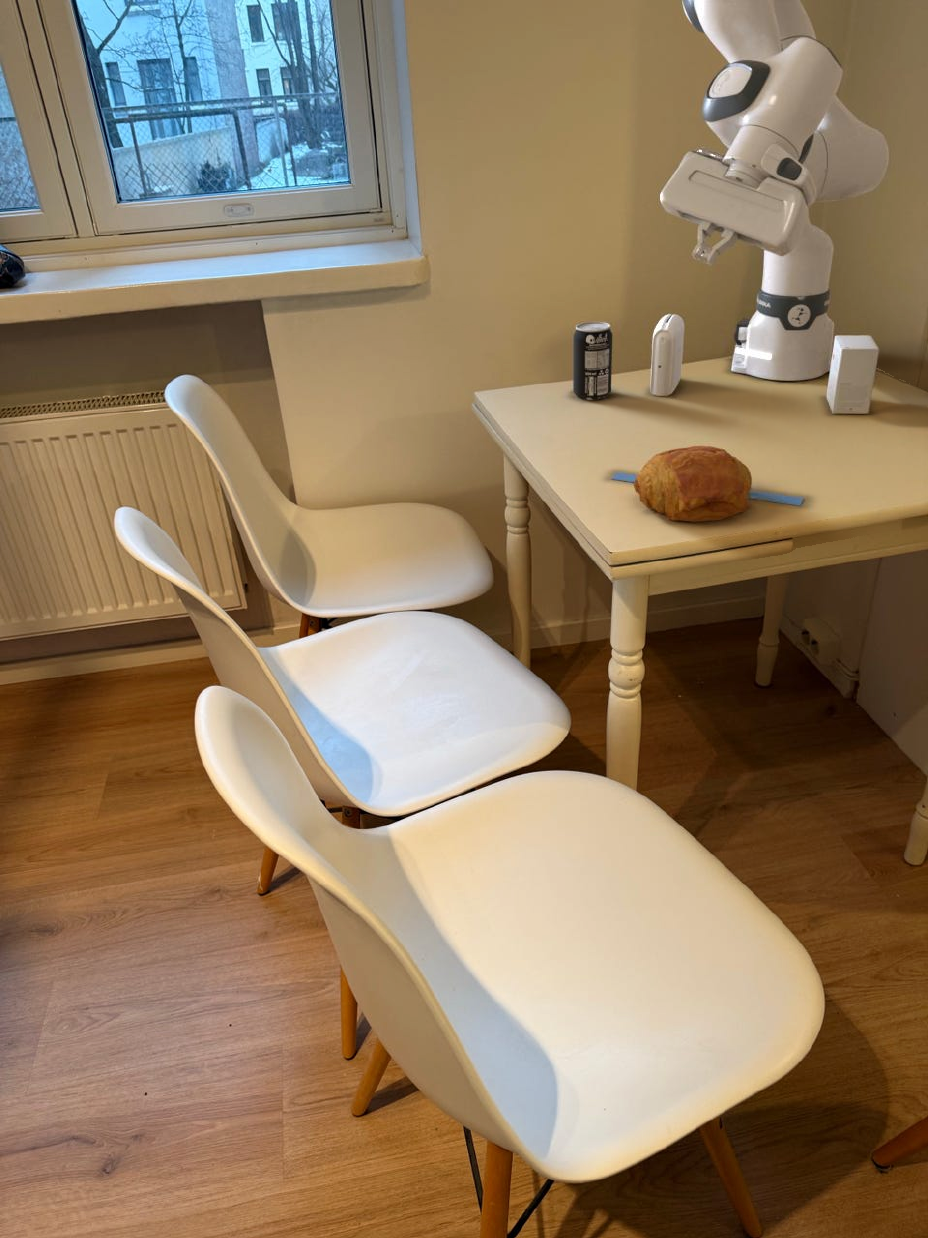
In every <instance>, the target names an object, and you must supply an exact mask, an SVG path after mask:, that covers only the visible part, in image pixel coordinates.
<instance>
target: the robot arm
mask: <svg viewBox="0 0 928 1238" xmlns="http://www.w3.org/2000/svg"><path fill="white" fill-rule="evenodd" d="M681 1H682V2H681V3H682V7H683V8H682V9H683V11H684V14H685V16H686V19H688V21H689V23H691V25H693V27H694V28H695V29H696V31H697V32H699V33H701V34H705V35H706V37H707V38H708V39H709V41H710V42H711V43H712V44H713V45H714V46H715V48H716V49H717V50H718V51H719V53H720V55H722V56H723V58H725V60H726V61H727V62H728V64H726V65H724V66H723V67H722V68H721V69H720V70H719V71H718V72H717V73H716V74H715V76H714V77H713V78H712V80H711V81H710V83H709V85H708V87H707V89H706V91H705V94H704V96H703V100H702V105H701V116H702V119H703V120H704V121H705V123H706V125H707V126H708V127H709V129H710V130H711V131H712V132H713V133H714V134H715V135H716V137H718V138H719V140H720V141H721V142H722V144H723V145H724V146H725V147H726V148H727V152H726V153H725V154H724V153H721V152H718V151H713V150H710V149H709V148H707V147H701V146H700V147H699V148H697V149H693V150H690V151H688V152H687V153H686V154H684V156H683V158H682V160H681V162H680V163H679V165H678V167H677V168H676V170H675V172H674V173H673V174H672V175H671V177H670V178H669V180H668V181H667V182H666V184H665V186H664V187H663V189H662V190H661V192H660V194H659V195H660V203H661V205H662V208H663V209H664V210H665V212H666V213H668V214H670V215H672V216H675V217H678V218H680V219H683V220H685V221H687V222H688V221H689V222H691V223H693V224H696V225H698V226H697V241H696V242H697V243H696V245H695V247H694V249H693V251H692V253H691V256H692V258H693V259H694V260H696V261H698V262H701V263H704V264H706V265H708V266H711V267H712V266H714V265H715V263H716V261H717V260H718V258H719V256H721V255H722V254H724V253H726V252H727V251H729V250H730V249H732V248H733V247H734V246H735V244H736V242H737V241H740V242H743V243H745V244H748V245H751V246H753V247H756V248H758V249H760V250H763V269H762V281H761V282H762V283H761V287H760V288H759V289H758V294H757V297H756V304H755V309H756V311H755V312H754V314H753V315H752V317H751V318H741V320H739V322H737V323H736V330H735V332H734V334H733V339H734V342H735V345H734V350H733V355H732V363H731V368H730V370H731V372H734V373H738V374H744V375H745V374H746V375H749V376H752V377H756V378H759V379H765V380H770V381H771V380H772V381H785V382H786V381H787V382H788V381H789V382H791V381H792V382H793V381H805V380H812V379H816V378H818V377H821V376H824V375H825V374H826V373H828V372H830V368H831V361H832V354H833V345H834V331H835V322H834V321H833V319H831V318H830V317H829V316H828V314H827V312H828V311H829V305H830V303H831V289H830V288H829V284H830V278H831V272H832V263H833V257H834V250H835V248H834V243H833V241H832V239H831V237H830V235H829V234H828V233H827V232H826V231H824V230H823V229H821V228H819V226H817V225H814V224H812V222H811V220H810V212H809V208H810V207H811V206H812V205H813V204H814V203H826V202H835V201H846V200H850V199H853V198H855V197H859V196H861V195H864V194H868V193H870V192H872V191H874V190H875V189H876V188H877V187H878V186H879V184H880V183H881V182H882V180H883V179H884V177H885V174H886V172H887V168H888V166H889V162H890V159H889V158H890V152H889V146H888V143H887V140H886V138H885V136H884V135H883V133H882V132H880V130H878V129H876V128H873V127H871V126H869V125H867V124H866V123H865V122H863V121H861V119H859V118H857V117H856V116H855V115H854V114H853V113H852V112H851V111H850V110H849V109H848V108H847V107H846V106H845V105H844V104H843V102H842V101H841V99H839V97H838V96H837V95H836V94H837V93H838V90H839V87H840V85H841V81H842V79H843V71H844V70H843V67H842V64H841V62H840V60H839V59H838V57H837V56H836V55H835V53H834V52H833V51H832V50H831V48H830V47H828V46H827V45H825V44H824V43H823V42H821V41H820V40H818V39H817V36H816V33H815V30H814V27H813V24H812V22H811V20H810V17H809V15H808V13H807V11H806V9H805V6H804V5H803V4H802V2H801V0H681ZM714 232H717V233H719V234H721V238H722V239H721V240H720V241H719V242H717V243H715V245H714V246H712V247H711V246H708V245H707V238H712V235H713V234H714ZM741 341H746V342H741Z"/></svg>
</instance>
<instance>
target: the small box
mask: <svg viewBox="0 0 928 1238" xmlns="http://www.w3.org/2000/svg"><path fill="white" fill-rule="evenodd" d="M879 353H880V348H879V347H878V345H877V343H876V342H875V340H874V338H873V337H872V335H867V334H866V335H865V334H864V335H851V334H849V335H834V339H833V346H832V354H831V358H832V361H831V368H830V371H829V375H828V381H827V382H828V383H827V389H826V396H825V398H826V400H827V403H828V405H829V408H830V410H831V413H832V414H834V415H835V414H846V415H847V414H855V415H856V414H857V415H859V414H861V415H864V414H865V415H867V414H869V413H870V406H871V401H872V396H873V395H872V394H873V389H874V382H875V377H876V371H877V364H878V360H879V359H878V358H879Z"/></svg>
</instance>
